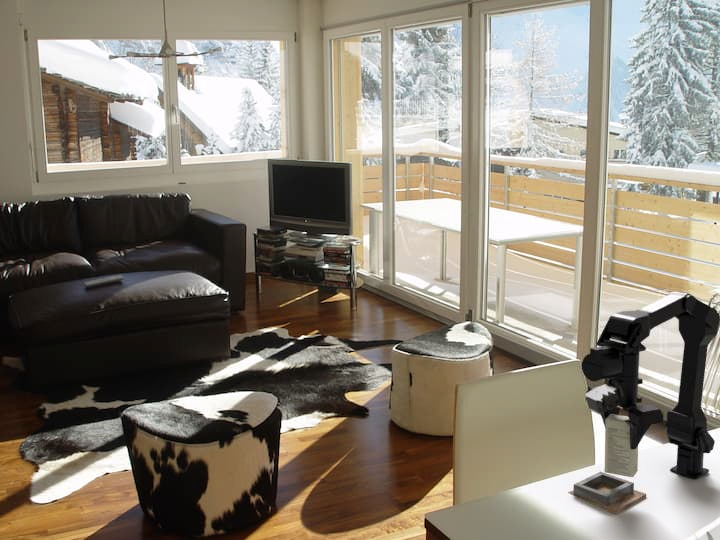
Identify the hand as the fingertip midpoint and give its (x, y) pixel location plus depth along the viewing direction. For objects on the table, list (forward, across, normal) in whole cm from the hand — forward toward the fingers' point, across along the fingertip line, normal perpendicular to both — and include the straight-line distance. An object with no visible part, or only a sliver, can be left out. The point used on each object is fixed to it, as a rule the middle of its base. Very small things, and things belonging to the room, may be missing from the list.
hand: (621, 443), depth 176 cm
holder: (+13, -2, -1) cm, 13 cm away
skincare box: (+7, 0, 0) cm, 7 cm away
